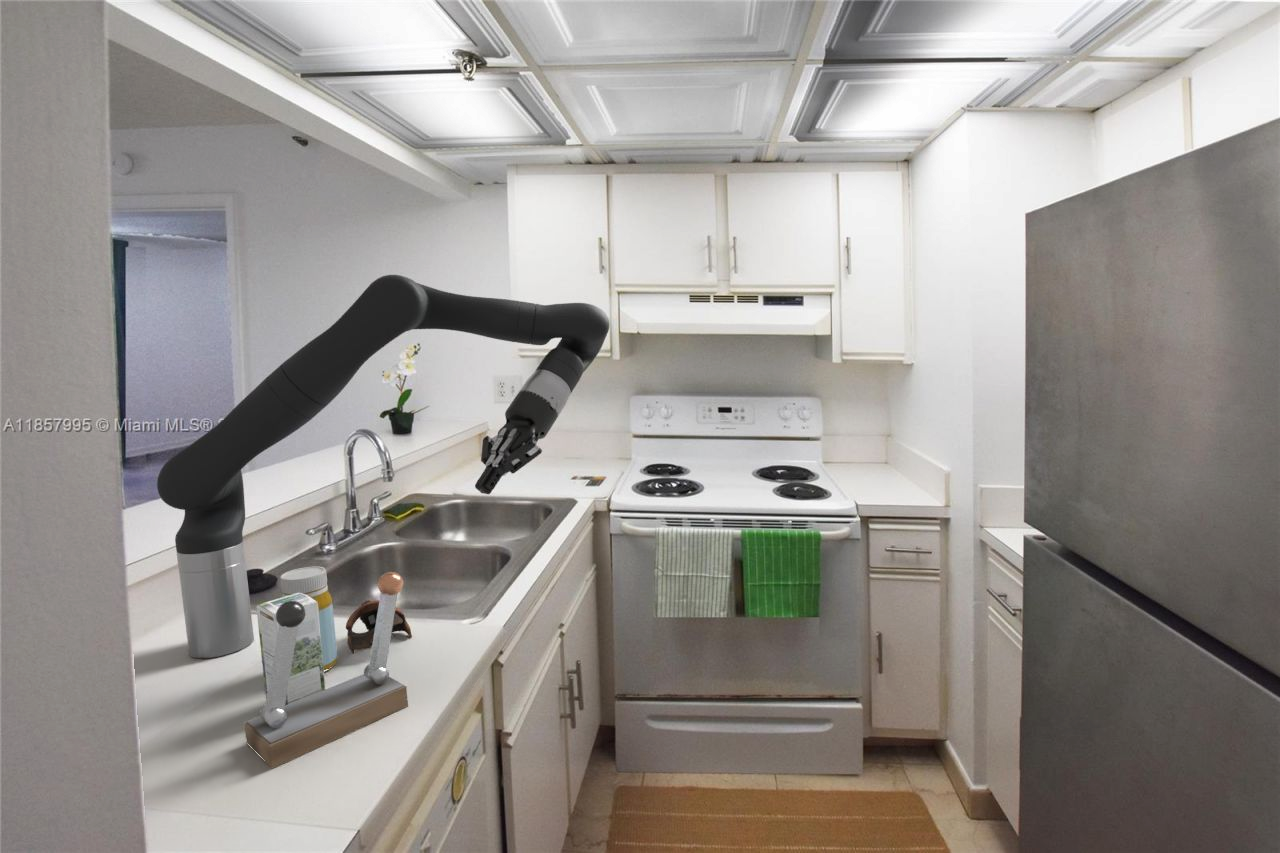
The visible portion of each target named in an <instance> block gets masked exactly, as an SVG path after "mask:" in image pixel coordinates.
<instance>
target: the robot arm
mask: <svg viewBox="0 0 1280 853" xmlns="http://www.w3.org/2000/svg"><path fill="white" fill-rule="evenodd" d="M412 330H447V331H449V330H450V331H456V332H463V333H469V334H473V335H477V336H481V337H486V338H489V339H495V340H499V341H505V342H511V343H517V344H526V345H531V346H544V345H547V344H548V343H549V342H550V341H551V340H553V339H560V341H559V342H558V343H557V345H556V347H554V348H552V349H550V350H549V351H548V352H547V353H546V355H545V356H544V357H543V359H542V360H541V361H540V363H539V365H538V366H537V368H535V370H534V372H533V373H532V374H531V375H530V376H529V377H528V378H527V379H526V381H525V382H524V384H523V385H522V387H521V389H519V391H518V392H517V394H516V396H515V397H514V399H513V400H512V402H511V403H510V404H509V406H508V408H507V409H506V411H505V413H504V417H505V421H506V423H505V424H503V426H502V427H501V428H499V430H498V432H497V435H495V436H493V437H490V436H489V435H486V436H484V437H483V439H482V444H481V445H482V446H481V457H480V462H481V463H483V464H484V465H485V469H484V470H483V472H482V473H481V475H480V477H478V478H477V481H476V483H475V485H474V487H475V488H474V489H476V490H477V491H479V493H481V494H483V495H490V494H491V493H492V491H493V490H494V489H495V488H496V486H497V484H499V482H500V480H501V479H502V477H505V476H506V475H507V474H508V473H510V474H515V473H516V472H518V471H520V469H522V468H524V467H525V466H526V465H527V464H529V463H530V462H531V461H533V460H534V459H535V458H537V457H539V455H541V454H542V452H543V449H542V448H541V447H540V446H539V444H538V441H539V440H542V439H545V437H546V436H547V435H548V433H549V431H550V430H551V429H552V427H553V426H554V424H555V422H556V421H557V419H558V417H559V415H560V414H561V413H562V411H563V409H564V408H565V406H566V405H567V402H568V400H569V399H570V398H569V397H570V396H571V394H572V393H573V391H574V389H575V388H576V386H577V384H578V383H579V382H580V380H581V378H582V376H583V374H584V372H585V371H586V370H587V369H589V367H590V365H591V364H592V362H593V361H594V360H595V359H596V358H597V356H598V354H599V352H600V351H601V349H602V347H603V345H604V343H605V340H606V337H607V335H608V333H609V330H610V318H609V316H608V314H607V313H606V312H605V311H604V310H603V309H601V308H600V307H598V306H596V305H593V304H590V303H586V302H570V303H569V302H567V303H565V302H564V303H554V304H547V305H546V304H545V305H544V304H539V303H533V302H527V301H520V300H514V299H506V298H495V297H483V296H482V297H481V296H474V295H473V296H471V295H465V294H464V295H463V294H457V293H452V292H447V291H444V290H441V289H437V288H434V287H430V286H428V285H424V284H421V283H418V282H417V281H414V280H413V279H411V278H409V277H406V276H404V275H403V276H402V275H400V274H387V275H386V274H385V275H383V276H380V277H378V278H376V279H375V280H374V281H372V282H371V283H370V284H369V285H368V287H367V288H365V290H364V291H363V292H362V294H361V295H359V296H358V298H357V299H356V300H355V301H354V302H353V303H352V304H351V306H349V308H348V309H347V310H346V311H345V312H344V313H343V314H342V315H341V316H340V317H339V318H338V319H337V320H336V321H335V322H334V323H333V324H331V326H329V328H327V329H326V330H325V331H323V332H322V333H320V334H319V335H317V336H316V337H315V338H313V339H312V340H310V341H309V342H308V343H307V344H305V345H304V346H302V347H301V348H300V349H298V350H297V351H296V352H295V353H293V354H292V355H290V357H289V358H287V359H286V360H284V362H282V363H281V364H280V365H279V366H278V367H276V369H275V370H273V371H272V372H271V373H269V375H267V377H266V378H264V379H263V380H262V381H261V382H260V383H259V384H258V385H257V386H256V387H255V388H254V389H253V390H252V391H250V393H248V395H246V396H245V397H244V398H242V400H241V401H240V402H239V403H238V404H237V405H236V406H235V407H234V408H233V409H232V410H231V411H230V412H229V413H228V414H227V415H226V416H225V417H224V418H223V419H222V420H221V421H220V422H219V423H218V424H217V425H215V426H214V427H213V428H212V429H210V430H209V431H208V432H206V433H205V434H204V435H202V436H201V437H200V438H198V439H197V440H195V441H194V442H192V443H191V444H189V445H188V446H187V447H185V448H184V449H182V450H181V451H179V452H178V453H176V454H175V455H173V456H172V457H170V458H169V459H168V460H167V461H166V462H165V464H163V466H162V467H161V468H160V471H159V474H158V476H157V481H156V488H157V493H158V495H159V497H160V499H161V500H162V501H163V502H164V503H165V504H166V505H167V506H169V507H171V508H174V509H178V510H180V511H181V510H182V511H184V517H183V521H182V523H181V525H180V527H179V529H178V530H177V532H176V534H175V537H174V538H175V540H174V541H175V549H176V550H175V551H176V557H177V566H178V574H179V581H180V589H181V590H180V592H181V598H182V606H183V614H184V623H185V634H186V639H187V647H188V654H189V656H190V657H192V658H195V659H209V658H210V659H211V658H216V657H222V656H226V655H229V654H232V653H236V652H239V651H241V650H243V649H245V648H246V647H248V646H249V645H251V644H252V643H253V642H254V640H255V638H254V637H255V634H254V627H253V626H254V625H253V619H252V616H253V615H252V610H251V609H252V608H251V600H250V599H251V598H250V590H249V583H248V573H247V564H246V558H245V557H246V556H245V546H244V539H243V538H244V537H243V529H244V526H245V521H246V506H245V504H246V503H245V488H244V480H243V472H242V469H244V468H245V466H246V465H248V464H249V463H250V462H251V461H252V460H253V459H254V458H256V457H258V456H259V455H260V454H261V453H263V452H264V451H266V450H268V449H270V448H271V447H273V446H275V445H277V443H279V442H281V441H283V440H284V439H285V438H288V436H291V435H292V434H294V433H295V432H296V431H298V430H299V429H301V428H302V427H303V426H304V425H306V424H307V423H308V422H310V421H312V419H314V418H315V417H316V416H317V415H318V414H319V413H320V412H321V411H323V410H324V409H325V408H326V407H327V406H328V405H330V403H331V402H332V401H333V400H334V399H335V398H337V396H338V395H340V393H341V392H342V391H343V390H344V388H345V387H346V386H347V385H348V384H349V382H350V381H351V380H352V379H353V377H354V376H355V375H356V374H357V372H358V371H359V370H360V369H361V367H362V366H363V365H364V364H365V363H366V362H367V361H368V360H369V359H370V358H371V357H373V356H374V355H375V354H376V353H377V352H379V351H380V350H382V349H383V348H384V347H386V346H387V345H388V344H390V343H391V342H393V341H394V340H395V339H397V338H398V337H399V336H401V335H402V334H405V333H406V332H410V331H412Z"/></svg>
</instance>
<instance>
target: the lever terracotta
mask: <svg viewBox="0 0 1280 853" xmlns="http://www.w3.org/2000/svg"><path fill="white" fill-rule="evenodd" d="M377 586H378V590H379V592H380V595H379V600H378V601H379V607H378V613H377V619H376V625H375V632H374V638H373V644H372V647H371V652H370V656H369V657H370V659H369V663H368V664H367V665H366V666H365V668H364V670H363V674H364V675H365V677H366V678H368V679H370V680H371V681H373V682H375V683H376V684H379V685H381V684H384V683H385V682H386V681H387V680H388V677H390V672H389V671H388V670H387V664H388V658H389V651H390V646H391V645H390V644H391V639H392V638H391V633H392V634H393V632H392V627H393V620H394V614H395V608H396V607H397V600H398V594H399V593H400V592H401V591H402V589H403V587H404V579H403V578H402V576H401V574H399V573H398V572H394V571H389V572H386V573H384V574H382V575H381V576H380V578H379V580H378V583H377Z"/></svg>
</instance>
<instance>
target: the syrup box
mask: <svg viewBox="0 0 1280 853" xmlns="http://www.w3.org/2000/svg"><path fill="white" fill-rule="evenodd" d="M288 601H297V602H299V603H301V604H302V605H303V606H304V608H305V618H304V620H303V621H302V622H301V623H300V624H299V626H298V632H297V638H296V643H295V649H294V655H293V661H292V667H291V673H290V679H289V685H288V690H287V696H286V702H285V705H288V704H290V703H293V702H295V701H298V700H300V699H303V698H305V697H308V696H310V695H313V694H315V693H318V692H320V691H323V690H325V689H326V684H325V672H324V669H323V659H322V647H321V635H320V624H319V612H318V602H316V601H315V600H314V599H312V598H311V597H309V596H307V595H305V594H302V593H295V594H292V595H289V596H285V597H280V598H275V599H272V600H269V601H265V602H263V603H259V604H257V605H256V615H257V616H256V618H257V626H258V634H259V644H260V646H259V647H260V653H261V663H262V674H263V681H264V694H265V700H266V699H267V693H268V687H269V682H270V676H271V670H272V664H273V658H274V653H275V647H276V641H277V635H278V630H279V624H278V622H277V620H276V612H277V610H278V608H279V607H280V606H281V605H282V604H284V603H285V602H288Z"/></svg>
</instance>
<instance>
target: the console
mask: <svg viewBox="0 0 1280 853" xmlns="http://www.w3.org/2000/svg"><path fill="white" fill-rule="evenodd" d="M407 707H409V702H408V690H407V686H406V685H404V684H403V683H401V682H399V681H398V680H396V679H394V678H392V677H391V676H389V677H388V680H387V681H386V682H385V683H384V684H381V685H379V684H376V683H375V682H373V681H371V680H370V679H368V678H366V677H365V675H364V673H363V674H360V675H358V676H355V677H353V678H351V679H348V680H345V681H343V682H341V683H338V684H335V685H332V686H331V687H328V688H325V690H323V691H320V692H318V693H315V694H313V695H310V696H308V697H305V698H303V699H300V700H298V701H295V702H293V703H290V704H288V705H285V708H284V711H285V712H286V714H287V720H286V722H285V723H284V725H282V726H281V727H279V728H272V727H271V726H270V725H268V724H267V723H266V722H265V721H264V720H263V719H262V718H261V717H260V715H258V716H256V717H253V718H251V719H248V720H246V721H245V722H244V732H245V737H246V738H245V739H246V744H247V743H248V744H249V745H250V746H251V747H252V748H253V749H254V750H255V751H256V752H257V753H258V754H259V755H260V756H261V757H262V758H263V759H264V760H265V761H264V760H263V759H262V758H261V757H260V758H261V759H262V760H263V761H264V763H265V764H267V765H268V767H269V768H270V769H272V768H273V769H274V768H275V769H276V768H277V767H279V766H282V765H283V763H284V764H286V763H288V762H290V761H292V760H295V759H297V758H298V757H301V756H304V755H305V754H308V753H309V752H312V751H314V750H316V749H318V748H321V747H322V746H323V747H324V746H325V745H327V744H329V743H331V742H333V741H336V740H338V739H340V738H342V737H344V736H346V735H348V734H351V733H353V732H355V731H357V730H360V729H361V728H362V729H363V728H364V727H367V726H368V725H370V724H373V723H375V722H378V721H380V720H382V719H384V718H386V717H388V716H390V715H392V714H394V713H396V712H397V713H398V711H401V710H403V709H406V708H407Z"/></svg>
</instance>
